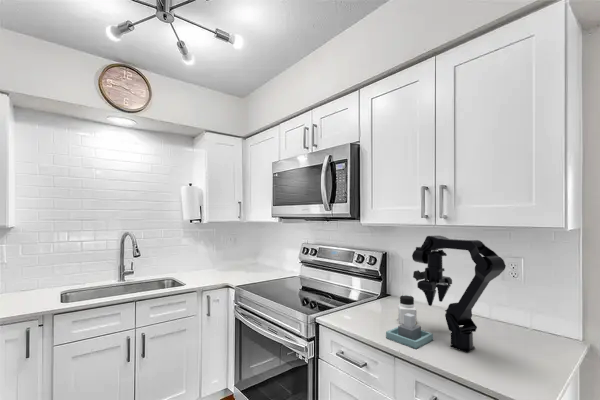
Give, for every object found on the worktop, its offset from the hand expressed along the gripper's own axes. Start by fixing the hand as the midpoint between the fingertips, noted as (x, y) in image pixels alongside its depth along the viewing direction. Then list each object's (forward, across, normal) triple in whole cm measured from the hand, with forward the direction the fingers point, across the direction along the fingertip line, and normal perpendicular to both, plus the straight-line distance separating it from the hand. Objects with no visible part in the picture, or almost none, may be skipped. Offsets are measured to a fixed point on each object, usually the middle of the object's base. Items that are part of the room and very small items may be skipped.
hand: (435, 303), depth 126 cm
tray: (+13, +12, -5) cm, 18 cm away
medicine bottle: (+13, -5, -16) cm, 21 cm away
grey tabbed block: (+12, +12, -5) cm, 18 cm away
